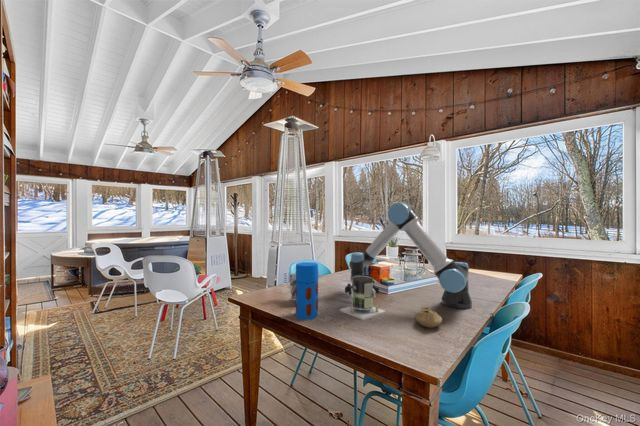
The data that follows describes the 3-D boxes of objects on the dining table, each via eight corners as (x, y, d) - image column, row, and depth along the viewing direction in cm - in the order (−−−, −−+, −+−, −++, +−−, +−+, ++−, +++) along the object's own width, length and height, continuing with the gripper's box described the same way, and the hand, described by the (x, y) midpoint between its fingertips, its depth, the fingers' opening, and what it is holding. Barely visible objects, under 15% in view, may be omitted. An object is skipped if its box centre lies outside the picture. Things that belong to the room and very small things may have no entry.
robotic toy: (304, 296, 174) (304, 271, 174) (314, 305, 158) (314, 277, 158) (283, 298, 170) (283, 272, 170) (291, 307, 153) (291, 279, 153)
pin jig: (385, 312, 146) (385, 304, 146) (363, 320, 136) (363, 311, 136) (362, 304, 158) (362, 297, 158) (340, 311, 148) (340, 303, 148)
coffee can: (353, 310, 142) (353, 281, 142) (351, 304, 152) (351, 276, 152) (375, 310, 142) (375, 281, 142) (370, 303, 152) (370, 276, 152)
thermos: (321, 313, 144) (321, 263, 144) (312, 321, 135) (312, 266, 134) (302, 310, 149) (302, 261, 149) (291, 317, 139) (291, 265, 139)
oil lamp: (432, 318, 139) (432, 301, 139) (447, 331, 124) (447, 312, 124) (409, 318, 138) (409, 301, 138) (421, 331, 123) (421, 312, 123)
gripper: (379, 290, 165) (387, 302, 142) (338, 289, 165) (340, 302, 143) (379, 276, 165) (387, 287, 142) (338, 276, 165) (340, 286, 143)
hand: (363, 294), depth 143 cm, fingers closed on coffee can, 10 cm apart
